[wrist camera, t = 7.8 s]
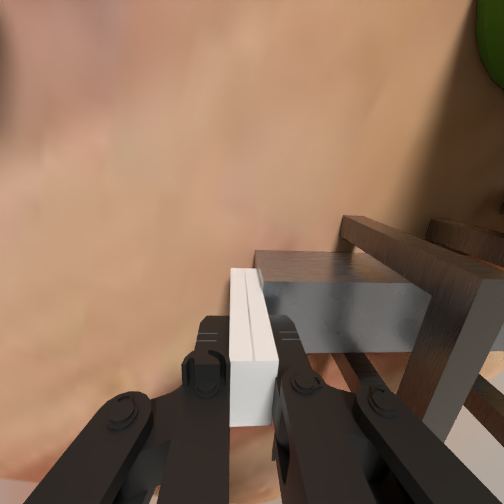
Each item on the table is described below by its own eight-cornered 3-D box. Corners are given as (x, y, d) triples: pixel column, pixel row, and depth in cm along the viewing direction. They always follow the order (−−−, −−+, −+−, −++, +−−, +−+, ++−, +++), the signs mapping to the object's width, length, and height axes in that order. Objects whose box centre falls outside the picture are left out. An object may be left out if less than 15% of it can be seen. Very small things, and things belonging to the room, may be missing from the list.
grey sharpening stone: (251, 308, 15) (257, 354, 12) (255, 249, 14) (263, 280, 10) (499, 309, 17) (575, 350, 13) (525, 256, 16) (617, 285, 12)
